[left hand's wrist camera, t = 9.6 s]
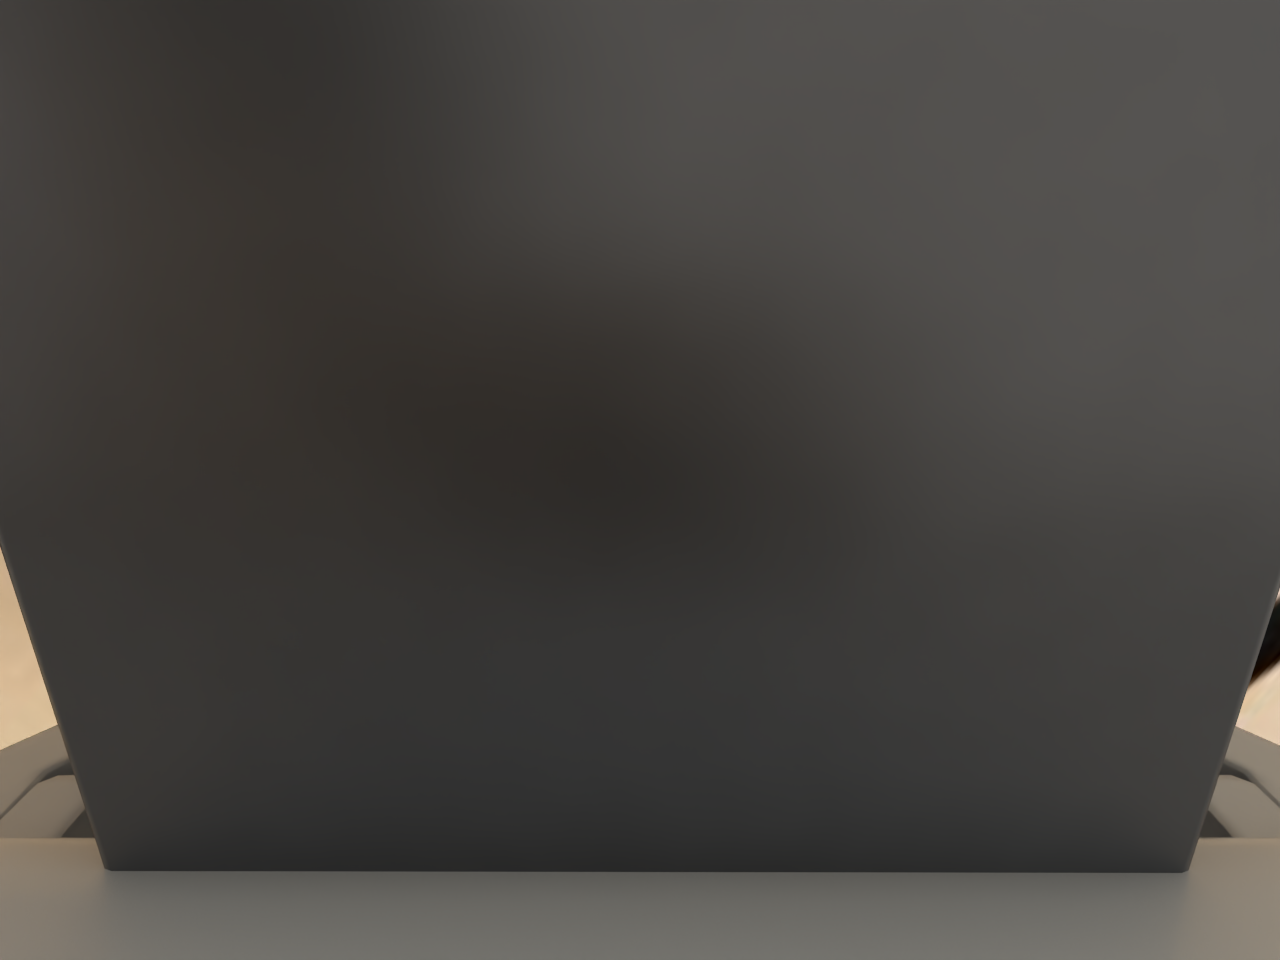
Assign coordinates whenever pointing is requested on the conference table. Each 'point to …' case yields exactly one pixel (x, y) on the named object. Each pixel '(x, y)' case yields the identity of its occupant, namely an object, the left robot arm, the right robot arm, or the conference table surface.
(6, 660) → the conference table surface
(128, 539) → the box
